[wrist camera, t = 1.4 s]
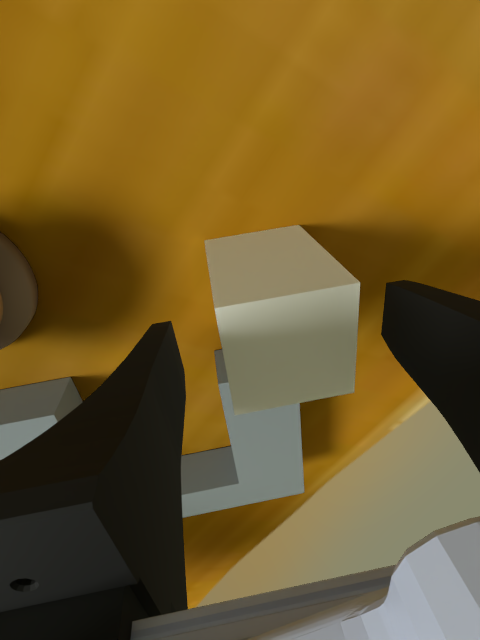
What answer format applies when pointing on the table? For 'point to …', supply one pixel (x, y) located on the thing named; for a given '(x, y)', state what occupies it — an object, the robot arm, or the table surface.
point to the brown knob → (15, 292)
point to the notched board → (196, 469)
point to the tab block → (283, 318)
